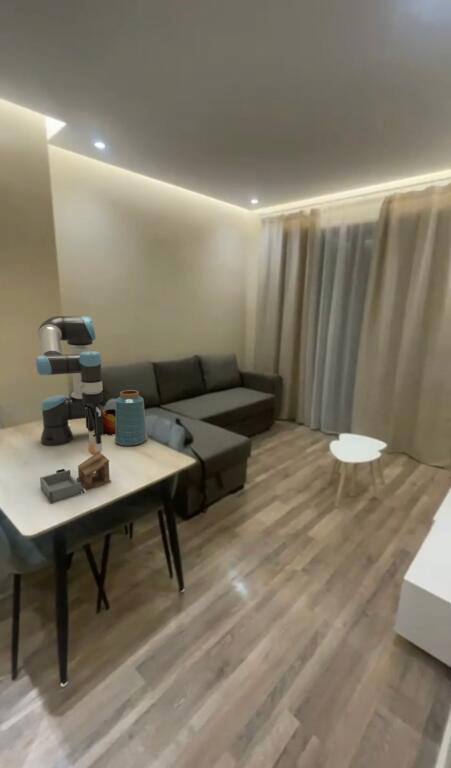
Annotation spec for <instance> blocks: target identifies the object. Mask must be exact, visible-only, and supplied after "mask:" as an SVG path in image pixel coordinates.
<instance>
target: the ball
mask: <svg viewBox="0 0 451 768" xmlns="http://www.w3.org/2000/svg"><path fill="white" fill-rule="evenodd" d="M87 449H88V452H89V454H90V455H91V456H93V455H98V454H99V453H101V452H102V450H101V451H97V452H95V449H94V443H92V444H91V445H90V446H88V448H87Z"/></svg>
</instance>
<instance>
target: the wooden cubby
mask: <svg viewBox="0 0 451 768" xmlns="http://www.w3.org/2000/svg"><path fill="white" fill-rule="evenodd" d="M109 462H110V460H109V459H108V458H107V456H105V455H104V454H103V453H101V452H100V453H99V454H98V455H91V456H90V457H89V458H87V459H86V460H84V461H83V462H82V463H80V464H78V465H77V469H78V477H76V481H77V483H79V482H81V487H82V488H84V489H83V490H84V491H90V490H93V489H95V488H99V487H102V486H105V485H108V484H112V480H111V479H110V464H109Z"/></svg>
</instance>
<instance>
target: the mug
mask: <svg viewBox="0 0 451 768" xmlns="http://www.w3.org/2000/svg"><path fill="white" fill-rule="evenodd" d="M102 411H103V430H104V435H105V434H107V435H106V436H113V435H112V434H115V420H116V419H115V416H116V408H113V409H111V408H110V409H104V410H102Z"/></svg>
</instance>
